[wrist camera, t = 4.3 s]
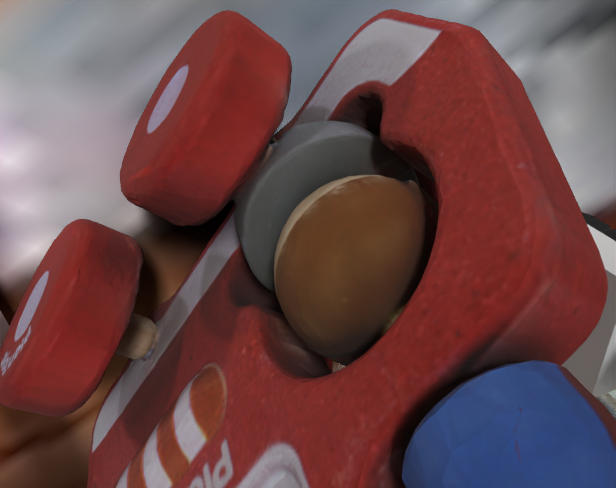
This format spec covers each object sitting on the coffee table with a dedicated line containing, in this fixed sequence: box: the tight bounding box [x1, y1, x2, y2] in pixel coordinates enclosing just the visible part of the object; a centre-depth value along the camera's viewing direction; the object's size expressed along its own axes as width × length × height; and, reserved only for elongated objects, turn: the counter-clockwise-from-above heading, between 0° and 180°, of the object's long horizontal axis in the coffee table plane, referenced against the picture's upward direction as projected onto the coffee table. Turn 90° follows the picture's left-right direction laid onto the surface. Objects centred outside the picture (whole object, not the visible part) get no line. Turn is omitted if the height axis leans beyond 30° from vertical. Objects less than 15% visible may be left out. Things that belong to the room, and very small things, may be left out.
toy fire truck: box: [0, 9, 616, 488], centre depth 9 cm, size 7×12×10 cm, turn 141°
